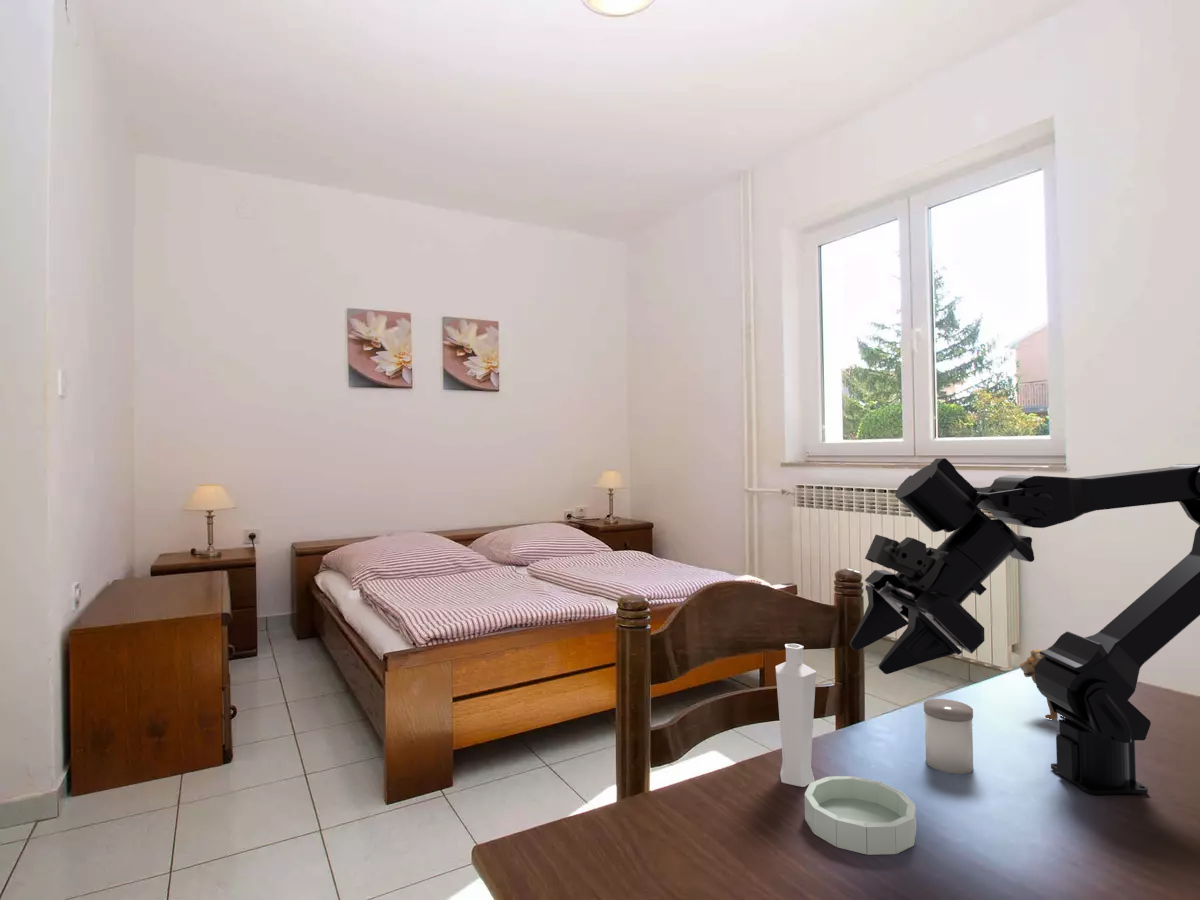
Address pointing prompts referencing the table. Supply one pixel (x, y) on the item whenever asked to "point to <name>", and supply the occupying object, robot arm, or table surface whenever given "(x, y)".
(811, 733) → the white faceted vase
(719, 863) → the table surface
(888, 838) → the ring dish
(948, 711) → the cream jar
